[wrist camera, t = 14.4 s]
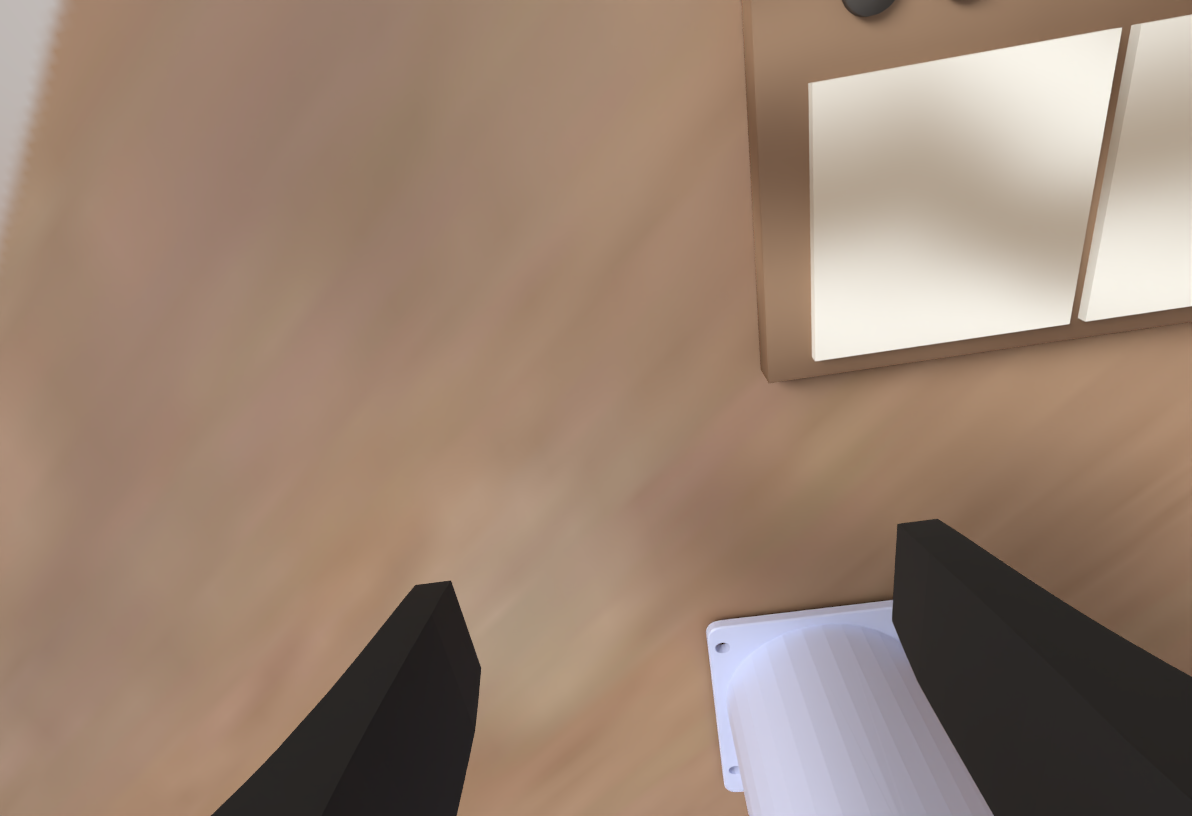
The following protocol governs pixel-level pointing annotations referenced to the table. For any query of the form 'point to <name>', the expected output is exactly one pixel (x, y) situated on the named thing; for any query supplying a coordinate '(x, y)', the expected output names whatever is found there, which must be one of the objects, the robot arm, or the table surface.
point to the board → (965, 175)
